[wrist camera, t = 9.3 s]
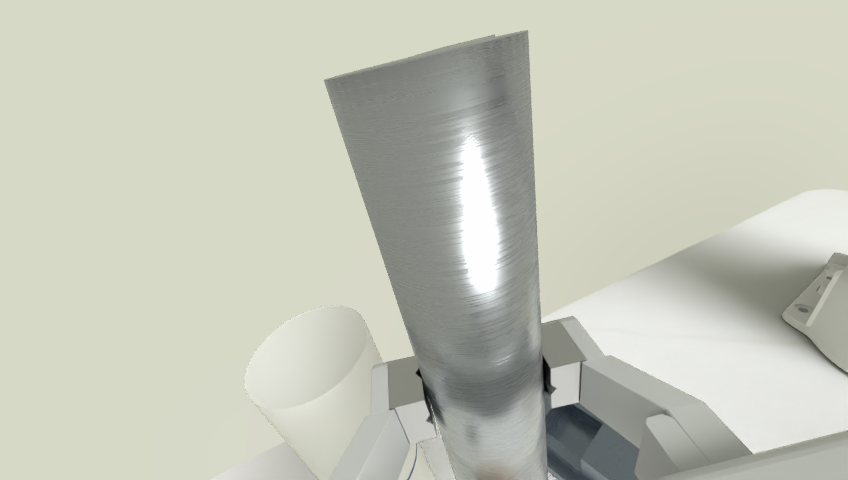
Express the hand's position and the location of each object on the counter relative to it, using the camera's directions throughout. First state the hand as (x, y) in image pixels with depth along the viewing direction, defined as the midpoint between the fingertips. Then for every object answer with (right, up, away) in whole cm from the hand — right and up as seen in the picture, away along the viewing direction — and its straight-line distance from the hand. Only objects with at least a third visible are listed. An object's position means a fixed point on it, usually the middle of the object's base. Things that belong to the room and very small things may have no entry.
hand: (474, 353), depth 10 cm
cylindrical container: (-3, -24, +22) cm, 32 cm away
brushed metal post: (+3, -7, +6) cm, 10 cm away
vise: (+14, -18, +24) cm, 33 cm away
